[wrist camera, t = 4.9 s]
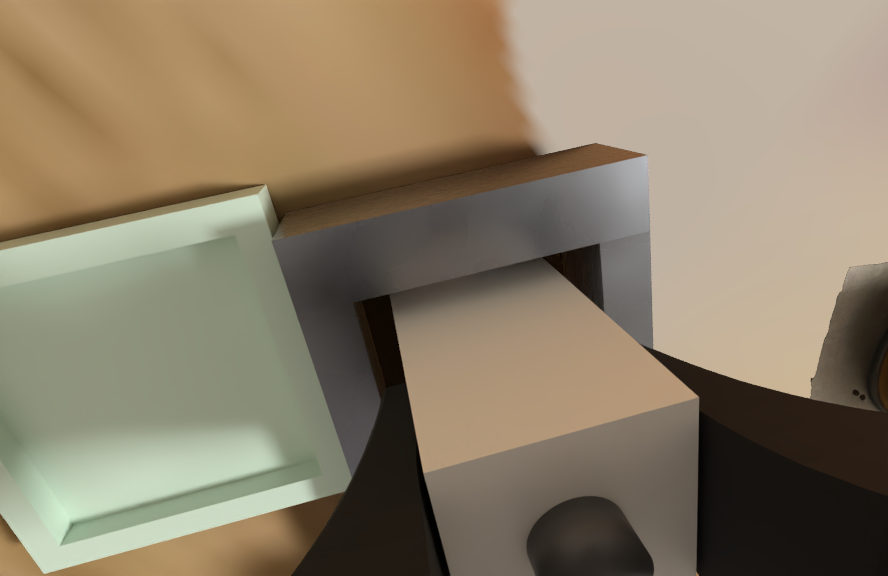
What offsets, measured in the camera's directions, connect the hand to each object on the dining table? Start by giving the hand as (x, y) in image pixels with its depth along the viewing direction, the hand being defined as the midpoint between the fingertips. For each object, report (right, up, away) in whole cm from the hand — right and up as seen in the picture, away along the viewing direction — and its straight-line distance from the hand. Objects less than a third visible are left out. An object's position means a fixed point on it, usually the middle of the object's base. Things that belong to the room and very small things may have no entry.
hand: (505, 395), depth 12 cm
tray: (-9, 0, +2) cm, 9 cm away
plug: (0, +1, +2) cm, 2 cm away
